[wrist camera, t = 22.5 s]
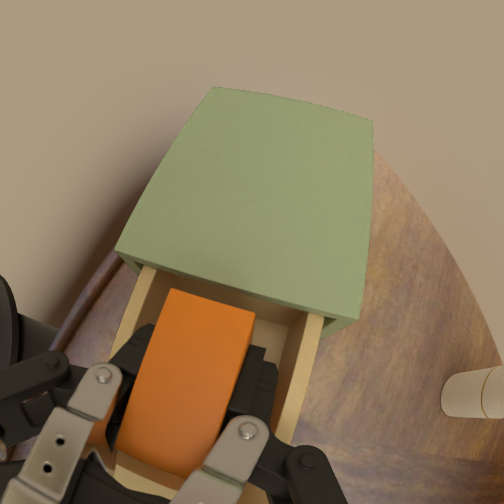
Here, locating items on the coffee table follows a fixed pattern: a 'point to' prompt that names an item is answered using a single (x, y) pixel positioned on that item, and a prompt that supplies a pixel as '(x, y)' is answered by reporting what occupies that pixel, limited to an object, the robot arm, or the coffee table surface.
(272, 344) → the drawer
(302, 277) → the cabinet
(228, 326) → the orange rectangular box
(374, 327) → the coffee table surface
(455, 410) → the tube
